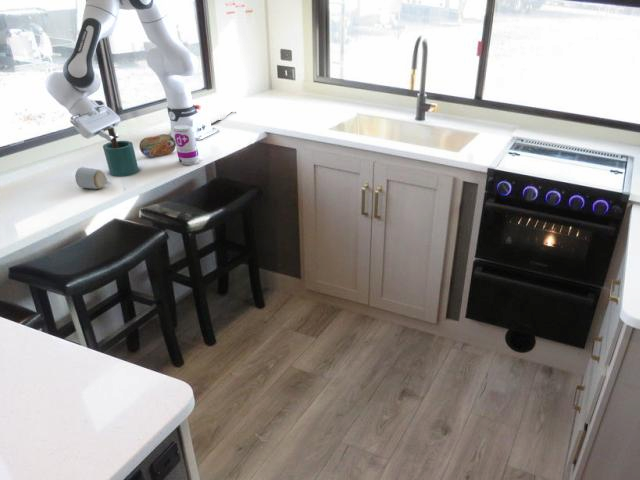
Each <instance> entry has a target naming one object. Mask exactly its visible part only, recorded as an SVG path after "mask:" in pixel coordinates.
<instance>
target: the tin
mask: <svg viewBox="0 0 640 480" xmlns="http://www.w3.org/2000/svg"><path fill="white" fill-rule="evenodd" d="M138 146H139V151H140V152H141V154H142V155H143V156H145V157H146V158H149V159H151V158H157V157H162V156H166V155H171V154H172V153H173V152H174V151H175V150H176V144H175V140H174V139H173V138H172V137H171V135H169V134H167V133H162V134H157V135H153V136H152V135H151V136H147V137H144V138H143V139H141V141H140V142H139V145H138Z"/></svg>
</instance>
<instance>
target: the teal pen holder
mask: <svg viewBox="0 0 640 480" xmlns="http://www.w3.org/2000/svg"><path fill="white" fill-rule="evenodd" d="M117 143H118V147H119V148H112V144H111V141H108V142H106V143H105V144H103V145H102V149H103V151H104V152H103V153H104V155H105V161H106V164H107V167H108V171H109V174H110V175H111V176H114V177H127V176H132V175H135V174H136V173H138V172H139V165H138V161H137V157H136V152H135V148H134V144H133V142H132V141H129V140H117Z"/></svg>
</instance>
